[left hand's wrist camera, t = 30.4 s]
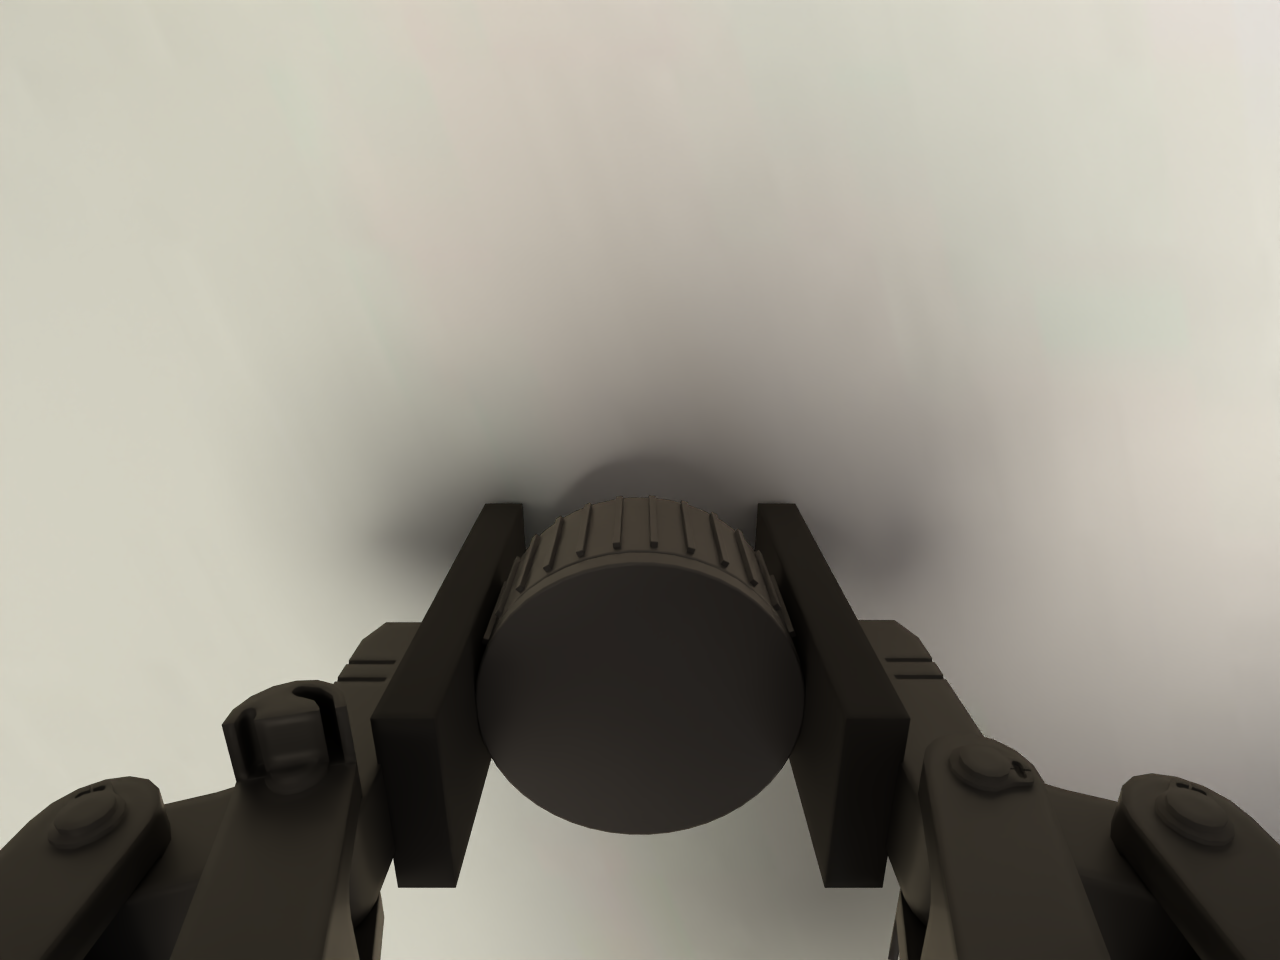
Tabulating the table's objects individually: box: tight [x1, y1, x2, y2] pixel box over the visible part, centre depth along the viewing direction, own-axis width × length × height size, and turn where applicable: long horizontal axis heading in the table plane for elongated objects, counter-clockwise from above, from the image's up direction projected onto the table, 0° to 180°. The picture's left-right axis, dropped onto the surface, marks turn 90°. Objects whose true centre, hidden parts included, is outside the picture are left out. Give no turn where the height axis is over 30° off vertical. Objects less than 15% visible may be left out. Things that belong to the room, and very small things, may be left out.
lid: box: [475, 495, 805, 835], centre depth 11 cm, size 5×5×2 cm
